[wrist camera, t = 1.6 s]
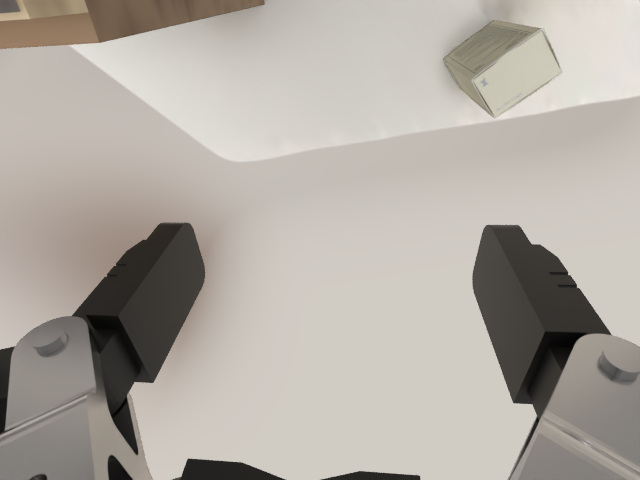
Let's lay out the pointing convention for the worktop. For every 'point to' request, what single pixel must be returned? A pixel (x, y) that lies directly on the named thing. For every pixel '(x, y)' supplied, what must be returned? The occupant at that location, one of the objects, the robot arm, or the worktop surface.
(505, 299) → the robot arm
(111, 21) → the walnut stand
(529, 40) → the skincare box
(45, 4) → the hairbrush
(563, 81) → the worktop surface
